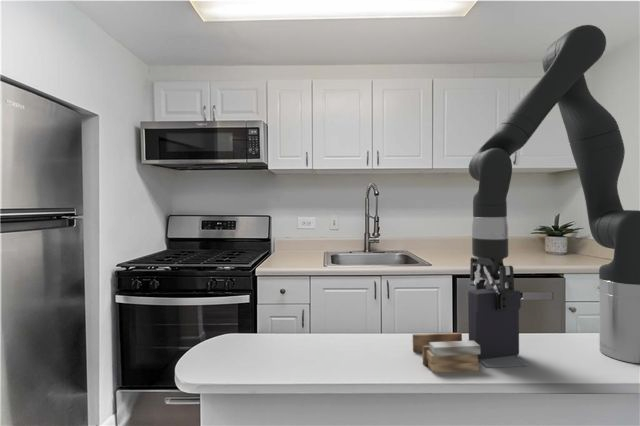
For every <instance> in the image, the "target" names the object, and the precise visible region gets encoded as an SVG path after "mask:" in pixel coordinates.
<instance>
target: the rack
mask: <svg viewBox="0 0 640 426" xmlns="http://www.w3.org/2000/svg"><path fill="white" fill-rule="evenodd" d="M462 334H463V333H462V332H442V333H441V332H440V333H438V332H437V333H418V334H417V333H415V334H412V352H413V353H422V365H423V366H428V360H427V350H429V342H449V341H463V335H462Z"/></svg>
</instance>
